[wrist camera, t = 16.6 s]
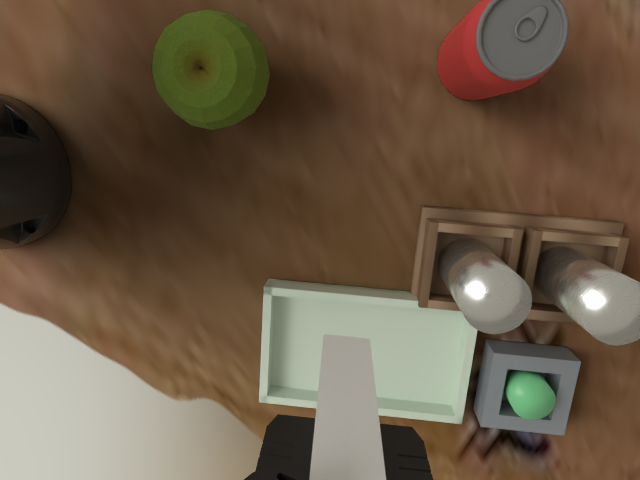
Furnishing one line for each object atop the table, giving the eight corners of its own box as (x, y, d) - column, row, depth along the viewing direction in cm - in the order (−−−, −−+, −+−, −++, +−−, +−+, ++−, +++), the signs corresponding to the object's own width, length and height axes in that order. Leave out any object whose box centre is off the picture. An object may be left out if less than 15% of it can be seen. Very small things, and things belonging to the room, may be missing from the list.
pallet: (408, 303, 45) (412, 316, 42) (421, 205, 43) (426, 211, 40) (593, 320, 44) (611, 335, 41) (616, 221, 42) (637, 228, 39)
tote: (263, 388, 49) (258, 402, 46) (268, 278, 46) (263, 286, 43) (456, 409, 48) (461, 424, 45) (474, 297, 44) (481, 306, 42)
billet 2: (527, 296, 43) (580, 343, 33) (534, 245, 42) (590, 278, 32) (582, 298, 42) (651, 346, 33) (590, 246, 41) (664, 281, 32)
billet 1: (434, 286, 43) (456, 330, 34) (441, 235, 42) (466, 266, 32) (487, 290, 43) (525, 337, 33) (495, 240, 42) (537, 272, 32)
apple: (292, 43, 40) (268, 10, 29) (274, 138, 42) (246, 141, 31) (198, 23, 40) (138, -18, 29) (185, 118, 43) (125, 114, 31)
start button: (498, 399, 46) (508, 417, 43) (505, 363, 45) (515, 379, 42) (538, 403, 46) (551, 422, 43) (546, 367, 45) (559, 384, 42)
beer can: (528, 56, 39) (602, 24, 27) (474, 116, 41) (521, 111, 29) (473, 3, 38) (524, -51, 27) (419, 67, 40) (445, 41, 28)
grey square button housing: (473, 408, 47) (480, 426, 44) (485, 338, 45) (493, 353, 43) (551, 416, 47) (564, 435, 44) (566, 346, 45) (581, 361, 42)
